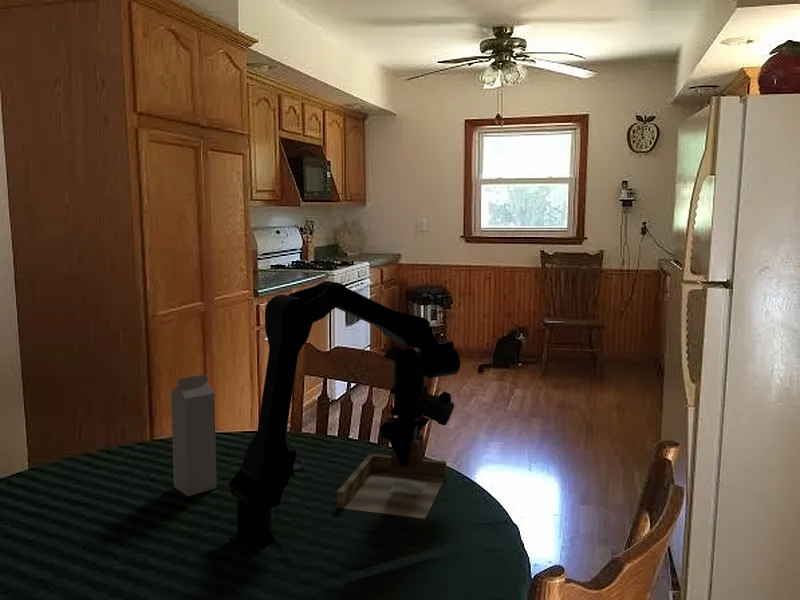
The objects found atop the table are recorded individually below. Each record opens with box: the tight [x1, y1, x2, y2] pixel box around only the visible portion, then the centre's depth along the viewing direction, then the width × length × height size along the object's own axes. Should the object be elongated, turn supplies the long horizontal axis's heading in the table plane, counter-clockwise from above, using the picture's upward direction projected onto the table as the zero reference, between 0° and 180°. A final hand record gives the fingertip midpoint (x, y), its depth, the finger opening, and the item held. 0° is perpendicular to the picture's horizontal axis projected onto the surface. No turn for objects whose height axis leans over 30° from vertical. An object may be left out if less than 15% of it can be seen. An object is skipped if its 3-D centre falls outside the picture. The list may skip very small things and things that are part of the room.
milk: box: [170, 373, 217, 497], centre depth 130 cm, size 6×6×22 cm
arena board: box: [336, 453, 447, 520], centre depth 128 cm, size 20×16×4 cm
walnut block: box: [390, 434, 424, 470], centre depth 129 cm, size 5×5×5 cm
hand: (407, 461), depth 129 cm, fingers closed on walnut block, 5 cm apart
